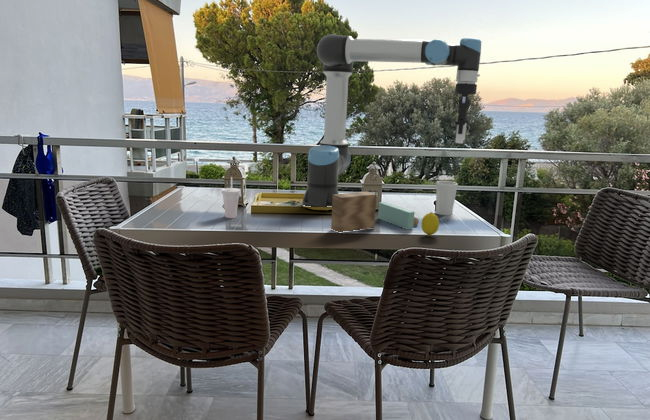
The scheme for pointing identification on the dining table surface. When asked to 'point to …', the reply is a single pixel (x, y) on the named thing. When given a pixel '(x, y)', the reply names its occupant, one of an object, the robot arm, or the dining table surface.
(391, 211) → the rail
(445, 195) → the cup
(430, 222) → the lemon
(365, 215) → the slab
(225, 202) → the smoothie
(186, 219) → the dining table surface
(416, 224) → the roller
